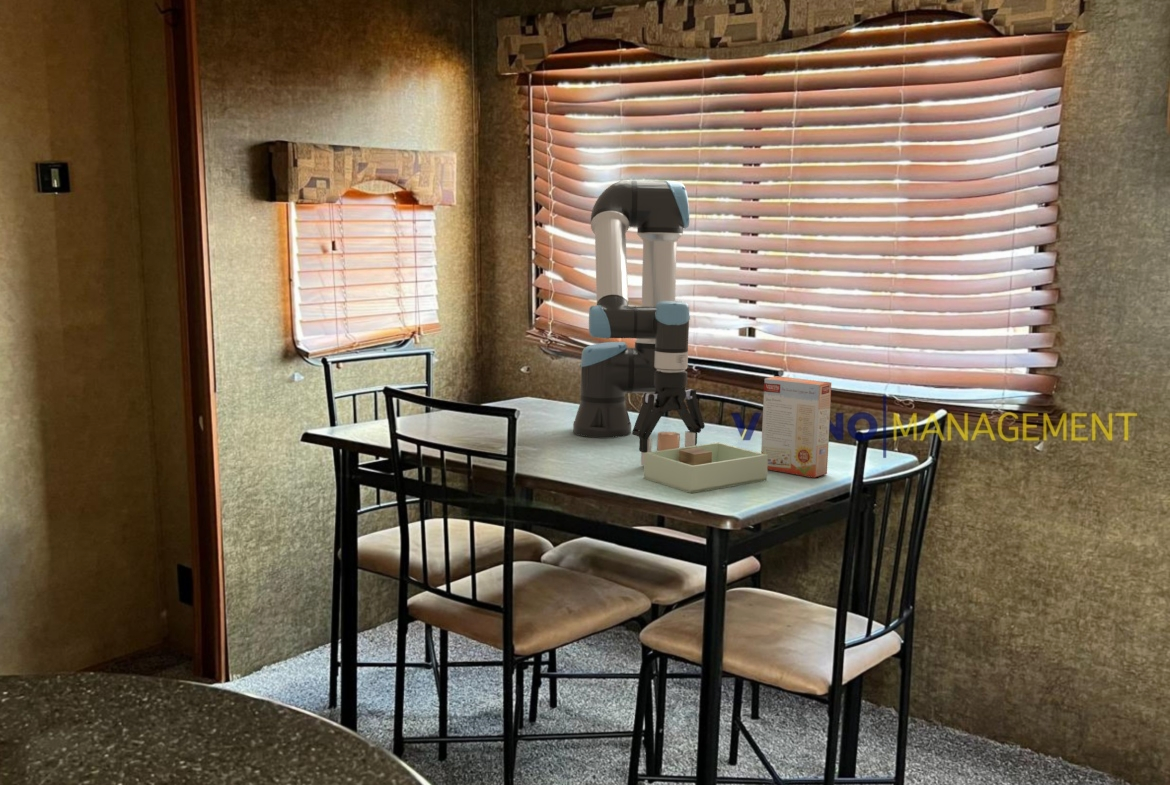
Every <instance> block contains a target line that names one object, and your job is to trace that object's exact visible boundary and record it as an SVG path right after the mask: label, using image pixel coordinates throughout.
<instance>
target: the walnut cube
mask: <svg viewBox="0 0 1170 785" xmlns="http://www.w3.org/2000/svg"><path fill="white" fill-rule="evenodd" d="M679 462H682V463H686V464H689V465H700V464H706V463H712V452H710V451H707V450H703V449H699V448H692V449H685V450H679Z"/></svg>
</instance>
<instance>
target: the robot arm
mask: <svg viewBox="0 0 1170 785" xmlns="http://www.w3.org/2000/svg"><path fill="white" fill-rule="evenodd" d="M689 226H690V206H689V197H688V191H687V189H686V187H685V185H684V184H683V183H682V182H681V181H680V182H679V181H673V180H672V181H671V180H666V179H665V180H633V179H632V180H631V179H626V180H625V179H624V180H623V179H622V180H620V181H617V182H614V183H612V184H611V185H609V186H608V187H607V188H606V189H604V190H603V191H602V193H600V195H599V196H598V198H597V200H596V201H595V202H594V204H593V207H592V210H591V214H590V230H591V231H592V233H593V234H594V239H595V241H594V244H595V246H594V247H595V251H594V253H595V283H596V284H595V286H596V294H595V295H596V305H591V306H590V307H589V309H588V334H589V335H590V337H592V338H597V339H598V338H599V339H606V340H607V339H608V340H609V339H635V340H634V347H628V345H627V343H626V342H625V341H609V342H601V343H595V344H591V345H588V346H586V347H584V348H583V349H582V352H581V358H580V360H581V362H580V367H581V369H580V401H579V406H578V408H577V412H576V415H575V418H574V420H573V422H572V423H573V426H572V432H573V434H574V435H575V434H576V435H578V436H582V437H589V438H599V439H601V438H605V439H607V438H620V437H626V436H629V435H631V434H632V435H633V436H636V437H638V439H639V442H638V443H639V444H638V445H639V446H638V447H639V448H638V449H639V452H640V454H641V455H640V466H642V467H644V453H647V452H653V450H652V449H653V447H652V444H653V438H651V435H652V433H653V431H654V430H655V428H656V426H657V424H658V423H659V421H660V419H661V418H662V416H663V415H665V414H666V413H667V412H668V413H669V412H671V411H676V412H677V414H678V415H679V417H680V418H681V420H682V422H683V423H684V425H685V426H686V428H687V431H685V432H684V433H685V434H684V447H689V446H696V445H698V434H700V433H701V432H702V430H703V429H705V425H706V424H705V422H704V418H703V416H702V413H701V409H700V406H699V403H698V400H697V390H695V389H691V388H687V386H688V371H686V370H687V369H688V368H689V367H688V366H689V364H688V362H689V334H690V333H689V332H690V331H689V330H690V320H691V315H690V305H689V303H688V302H686V301H682V300H679V301H678V300H676V289H677V288H676V286H677V284H676V282H677V280H676V279H677V250H678V249H677V246H678V245H677V244H678V243H677V242H678V240H680V238H681V237H683V235H684V234H683V233H684V229H686V228H688V227H689ZM630 227H633V228H634V227H635V228H637V232H636V233H637V235H638V237H639V238H640V239H641V240H642V276H641V279H642V280H641V281H642V283H641V306H636V305H629V286H628V264H627V260H628V259H627V242H626V241H627V239H626V238H627V236H626V233H627V232H628V230H629V228H630ZM626 394H643V398H642V405H641V407H640V409H639V412H638V415H637V417H636V419H635V420H636V421H635V423H634V425H633V429H632V422H631V420H630V416H629V412H628V408H627V405H626ZM684 401H685V402H686V403H685V402H684Z"/></svg>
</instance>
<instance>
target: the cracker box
mask: <svg viewBox="0 0 1170 785" xmlns="http://www.w3.org/2000/svg"><path fill="white" fill-rule="evenodd" d="M763 380H764V384H763V405H762V407H763V408H762V425H761V426H762V427H761V429H762V430H761V448H760V449H761V450H760V453H762V454H766V455H768V465H767V471H775V472H780V473H785V474H790V475H795V474H796V475H795V476H801V477H807V478H811V477H812V479H815V478H817V477H821V476H825V475H827V474H828V463H829V462H828V461H829V460H828V458H829V457H828V456H829V440H830V438H829V437H830V419H831V402H832V401H831V399H832V382H829V381H821V380H814V379H813V380H812V379H808V378H807V379H805V378H798V377H796V378H795V377H787V376H776V375H775V376H770V377H765V378H764V379H763Z"/></svg>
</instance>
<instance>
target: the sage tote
mask: <svg viewBox="0 0 1170 785" xmlns="http://www.w3.org/2000/svg"><path fill="white" fill-rule="evenodd" d="M692 448H699V449H703V450H707V451H710V452H712V463H706V464H700V465H689V464H686V463H682V462H679V450H685V449H692ZM767 465H768V455H766V454H762V453H761V452H758V451H753V450H750V449H747V448H742V447H739V446H734V445H730V444H727V443H723V442H713V443H705V444H696V445H695V446H689V447H685V446H684V447H682V446H681V447H679V448H675V449H668V450H661V451H657V450H654V451H652V452H647V453H644V466H643V479H645V480H648V481H650V482H654V483H658V484H660V485H664V486H667V487H670V488H673V489H676V490H680V491H682V492H686V493H689V494H695V493H702V492H703V493H704V492H710V491H713V490H720V489H724V487H726V488H730V487H729V486H732V487H736V485H737V486H741V485H748V484H753V483H754V482H755V483H759V482H760V483H761V482H764V480H765V482H766V481H768V470H767ZM755 483H754V484H755ZM719 488H720V489H719Z"/></svg>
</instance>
